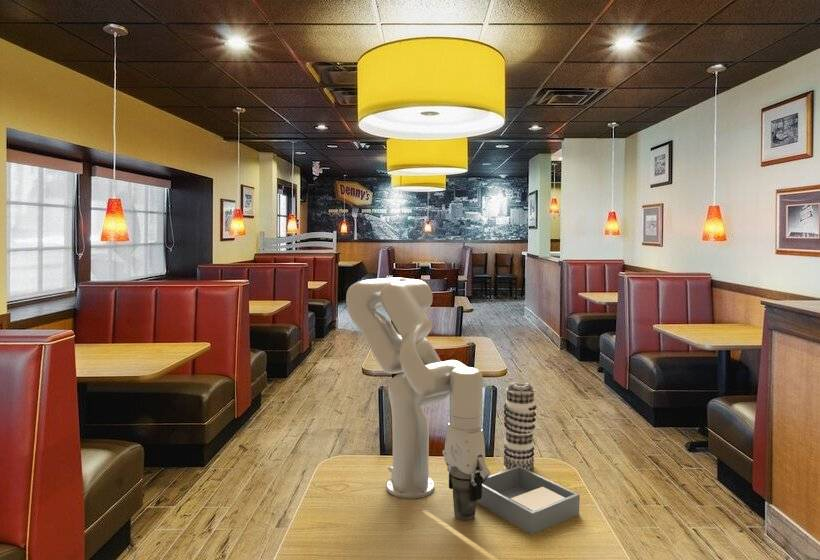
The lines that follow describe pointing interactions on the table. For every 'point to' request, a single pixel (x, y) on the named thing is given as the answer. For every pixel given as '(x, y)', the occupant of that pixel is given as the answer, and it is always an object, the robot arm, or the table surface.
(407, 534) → the table surface
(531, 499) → the beige rectangular block
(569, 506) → the tray
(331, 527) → the table surface
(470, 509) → the beverage cup
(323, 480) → the table surface
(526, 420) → the decorative candle
